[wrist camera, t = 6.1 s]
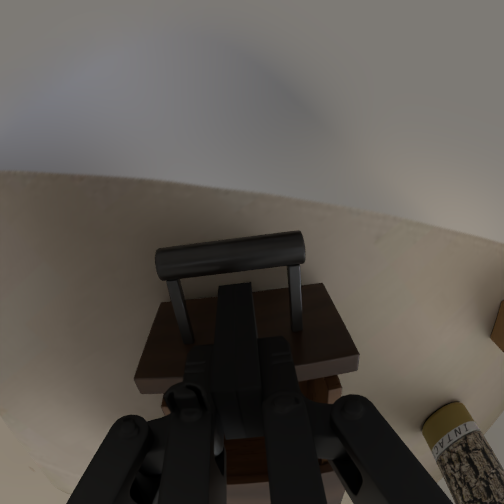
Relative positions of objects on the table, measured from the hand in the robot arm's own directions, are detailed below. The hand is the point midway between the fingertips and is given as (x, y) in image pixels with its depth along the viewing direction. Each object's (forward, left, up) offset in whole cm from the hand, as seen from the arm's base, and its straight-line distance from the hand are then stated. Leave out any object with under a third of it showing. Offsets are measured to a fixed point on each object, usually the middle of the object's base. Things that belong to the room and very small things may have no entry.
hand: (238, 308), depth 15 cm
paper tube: (+33, +13, -7) cm, 36 cm away
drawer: (+6, -2, -6) cm, 9 cm away
